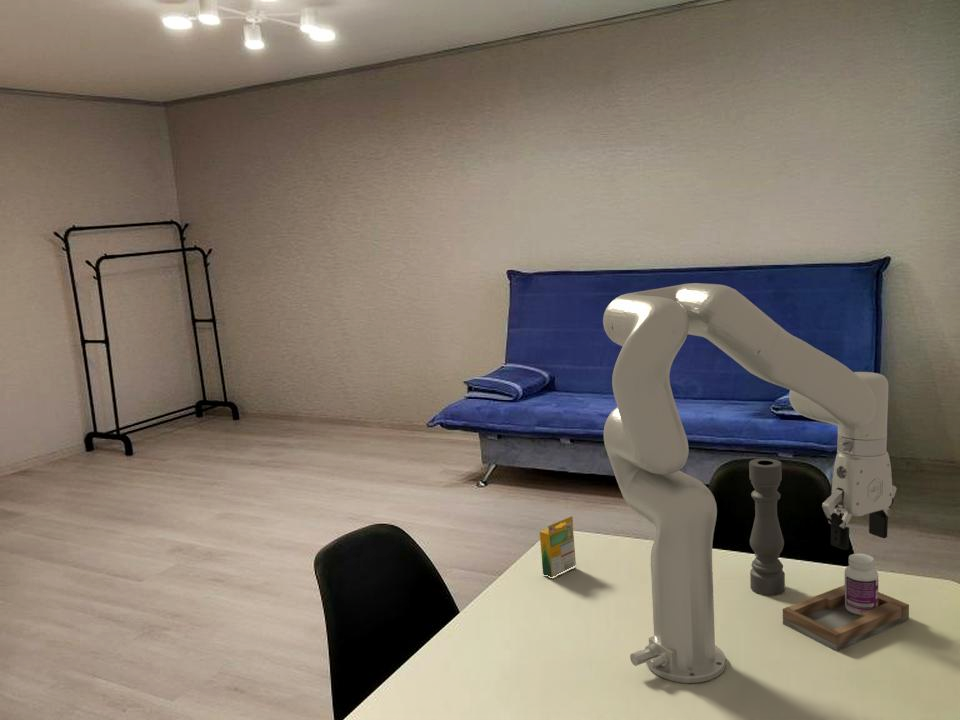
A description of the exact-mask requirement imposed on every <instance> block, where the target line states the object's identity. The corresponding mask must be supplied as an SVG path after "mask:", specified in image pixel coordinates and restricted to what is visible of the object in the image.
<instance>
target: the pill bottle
mask: <svg viewBox="0 0 960 720" xmlns="http://www.w3.org/2000/svg"><path fill="white" fill-rule="evenodd" d="M874 567H875V559H874V557H873V556H871V555H869V554H865V553H853V554H850V555H849V556H848V565H847V567H846V568H845V569H844V585H845V608H846V609H847V610H848V611H849V612H851V613H853V614H856V615H860V616H861V613H863V612H866V611H868V610H870V609H873V608H875V607H878V592H879V572H878V571H877V569H875V568H874Z"/></svg>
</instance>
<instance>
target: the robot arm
mask: <svg viewBox="0 0 960 720" xmlns="http://www.w3.org/2000/svg"><path fill="white" fill-rule="evenodd" d="M602 317H603V318H602V325H603V329H604V331H605V334H606V335H607V337H608V338H609V339H610V340H611V341H612V342H613V343H615V344H617V345H618V346H620V347H622V348H621V350H620V352H619V354H618V356H617V359H616V362H615V363H614V368H613V372H612V375H611V376H612V378H611V379H612V381H611V383H612V391H613V397H614V401H615V403H616V408H614V409H613V410H612V411H611V413H609V415H608V417H607V419H606V420H605V423H604V426H603V427H604V428H603V442H604V447H605V451H606V453H607V454H606V455H607V457H608V459H609V462H610V466H611V468H612V470H613V471H612V472H613V474H614V476H615V479H616V482H617V485H618V488H619V490H620V493H621V495H622V497H623V499H624V501H625V502H626V504H627V506H628V507H629V508H630V509H631V510H632V511H633V512H634V513H636V514H637V515H638V516H641V517H642V518H643V519H646V520H647V521H648V522H650V523H651V524H652V525H653V526H655V531H656V533H655V538H654V541H653V542H652V546H651V552H650V575H651V578H650V579H651V596H652V599H651V600H652V617H653V618H652V619H653V622H652V623H653V636H651V637H648V645H646V646H645V648H644V649H641V650H638V651H635V652H633V653H630V654H629V655H630V656H629V657H630V658H629V659H630V662H631V664H632V665H633V666H635V667H638V666H640V665H642V664H645V663H646V665H647V667H648V669H650V671H651V672H653V673H654V674H655V675H657V676H658V677H661V678H664V679H666V680H669V681H673V682H676V683H683V684H684V683H685V684H694V683H704V682H708V681H710V680H713V679H716V678H717V677H718V676H720V675H721V674H722V673H723V672H724V670H725V669H726V665H727V664H726V663H727V661H726V656H725V653H724V652H723V650H722V649H721V648H720V647H718V646H717V645H716V642H715V641H716V639H715V638H716V637H715V610H714V609H715V608H714V607H715V604H714V602H715V601H714V576H713V575H714V573H713V541H714V533H715V529H716V528H715V527H716V522H717V516H718V515H717V514H718V508H717V507H718V506H717V502H716V499H715V496H714V494H713V493H712V491H711V490H710V489H709V488H708V487H707V486H706V484H704V483H703V482H702V481H700V480H699V479H698V478H695V477H693V476H692V475H690V474H687V473H685V472H683V471H681V469H683V467H684V466H685V465H686V463H687V461H688V457H689V453H690V451H689V441H688V438H687V434H686V431H685V429H684V425H683V422H682V419H681V415H680V413H679V410H678V407H677V404H676V401H675V398H674V394H673V390H672V386H671V381H670V373H671V369H672V368H671V367H672V365H673V362H674V360H675V358H676V357H677V355H678V353H679V351H680V350H681V348H682V347H683V344H684V343H685V341H686V339H687V336H688V335H691V336H697V337H702V338H705V339H707V340H708V341H709V342H710V343H711V344H713V345H715V346H716V347H717V348H719V350H721V351H722V352H724V353H725V354H726V355H727V356H728V357H730V358H731V359H733V360H734V361H735V362H736V363H738V364H739V365H740V366H741V367H743V368H744V369H745V370H746V371H748V373H750V374H752V375H754V376H756V377H757V378H759V379H761V380H763V381H766V382H767V383H770V384H773V385H775V386H778V387H781V388H785V389H787V390H789V393H788V399H789V403H790V405H791V407H792V408H793V410H794V411H795V412H796V413H798V414H799V415H801V416H803V417H805V418H808V419H811V420H815V421H818V422H821V423H826V424H830V425H833V426H837V446H836V447H837V448H836V449H837V450H836V456H835V460H834V466H833V471H832V480H831V481H832V482H831V495H830V496H829V497H827V498H826V499H825V500H824V502H822V505H821V507H822V510H823V512H824V517H825V518H826V519H827V521H828V524H830V545H831V546H833V547H835V548H838V549H840V550H843V551H848V550H849V549H850V527H849V526H847V525H848V524H849V522H850V520H851V518H852V517H853V516H854V517H855V518H856V517H862V516H867V515H868V516H869V517H868V520H869V521H868V532H869V534H871V535H873V536H876V537H878V538H881V539H887V538H888V530H889V529H888V525H889V524H888V520H889V516H890V514H891V508H892V505H893V504H894V497H895V496H896V492H897V486H895V485H893V478H892V467H891V466H892V465H891V464H892V463H891V459H890V455H889V452H888V451H887V445H888V444H887V442H888V414H889V412H888V408H889V381H888V379H887V378H886V376H885V375H883V374H881V373H877V372H871V371H853V370H851V368H849V367H848V366H846V365H845V364H843V363H842V362H840V361H839V360H837V359H835V358H833V357H832V356H830V355H828V354H826V353H825V352H824V351H821V350H820V349H818V348H815V347H814V346H812V345H811V344H809V343H808V342H807V341H804V340H803V339H800V338H799V337H797V336H794V335H793V334H791V333H789V332H788V331H787V330H785V329H784V328H783V327H781V325H780V324H778V323H777V322H775V321H774V320H773V319H772V318H771V317H770V316H768V315H767V314H766V313H765V312H764V311H762V310H761V309H760V308H759V307H757V306H756V305H755V304H754V303H752V301H750V300H749V299H748V298H747V297H746V296H744V295H743V294H742V293H740V292H739V291H738V290H737V289H735V288H732V287H730V286H728V285H724V284H719V283H718V284H717V283H700V282H699V283H698V282H693V283H683V284H677V285H672V286H666V287H660V288H654V289H647V290H640V291H634V292H629V293H625V294H621V295H619V296H617V297H615V298H614V299H613V300H612V301H611V302H610V303H609V304H608V305H607V307H606V308H605V310H604V313H603V316H602ZM840 514H844V515H843V516H842V518H841V516H840Z"/></svg>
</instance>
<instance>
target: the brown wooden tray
mask: <svg viewBox="0 0 960 720" xmlns="http://www.w3.org/2000/svg"><path fill="white" fill-rule="evenodd" d="M909 620H910V604H909V603H907V602H903V601H902V600H899V599H896V598H894V597H891V596H889V595H887V594H884V593H881V592H880V591H878V607H875V608H873V609H870V610H868V611H866V612H863V613H861V616H860V615H856V614H853V613H851V612H849V611H848V610H847V609H846V608H845V584H844V585H842V586H838V587H836V588H833V589H831V590H828V591H826V592H822V593H820V594H818V595H814V596H812V597H810V598H807V599H804V600H801V601H800V602H797V603H795V604H791V605H789V606H786V607H783V608H782V625H784V626H787V627H788V628H791V629H792V630H794V631H796V632H799V634H802V635H804V636H806V637H808V638H810V639H812V640H813V641H816V642H818V643H820V644H822V645H824V646H825V647H827V648H829V649H831V650H833V651H836V652H837V651H841V650H842V649H845V648H847V647H849V646H852V645H854V644H857V643H858V642H861V641H863V640H865V639H867V638H870V637H873V636H874V635H877V634H879V633H881V632H884V631H886V630H889V629H891V628H893V627H896V626H897V625H899V624H902V623H905V622H907V621H909Z"/></svg>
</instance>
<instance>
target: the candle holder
mask: <svg viewBox="0 0 960 720" xmlns="http://www.w3.org/2000/svg"><path fill="white" fill-rule="evenodd" d="M748 465H749V467H748V469H749V471H748V472H749V473H748V474H749V475H748V477H749V480H750V481H751V482H750V484H751V485H752V486H753V488H754V490H752V492H751V494H750V495H751V498H752V499H753V501H754V504H755V505H754V510H755V513H754V514H755V517H754V521H753V526H752V529H751V533H750V537H749V545H750V547H751V549H752V551H753V552H754V556H755V558H754V559H753V560H752V563H751V569H750V572H749V573H750V574H749V575H750V576H749V577H750V579H749V580H750V581H749V582H750V589H751V591H752V592H753V593H754V594H755V593H756V594H757V595H761V596H767V597H775V596H781V595H782V594H784V593H785V592H786V591H785V590H786V575H785V572H784V570H783V569H784V564H783V563H782V561H780V559H779V558H780V556H781V555H780V554H781V553H782V552H783V550H784V546H785V539H784V536H783V533H782V529H781V526H780V522H779V517H778V502H779V501H778V500H780V499H781V496H782V495H781V493H780V492H779V491H778V490H779V489H778V488H779V486H780V485H781V482H782V478H783V477H782V475H783V474H782V467H783V466H782V462H781V461H780V460H778V459H774V458H765V457H764V458H762V457H761V458H755V459H751V460H750V461H749V462H748Z"/></svg>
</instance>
